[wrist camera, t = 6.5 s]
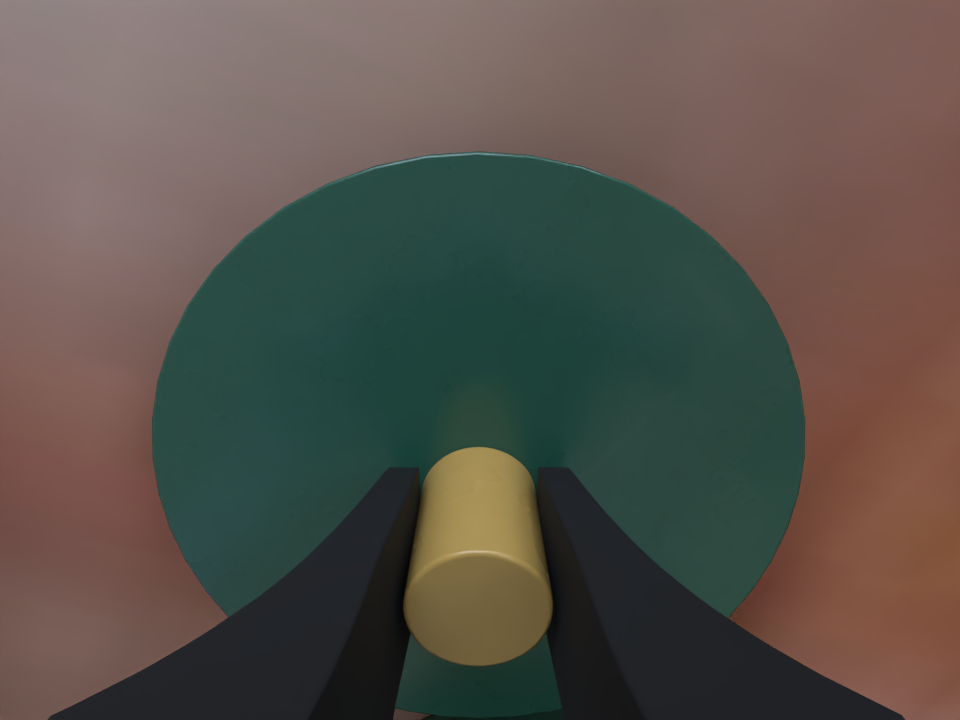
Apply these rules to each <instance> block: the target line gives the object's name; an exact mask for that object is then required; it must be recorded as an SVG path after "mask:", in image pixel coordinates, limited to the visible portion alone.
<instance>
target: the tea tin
mask: <svg viewBox="0 0 960 720" xmlns="http://www.w3.org/2000/svg"><path fill="white" fill-rule="evenodd" d="M424 720H564V718H563V712H562V708H561V709H556V710H552V711H548V712H541V713H533V714H526V715H519V716H509V717H487V718H471V717H449V716H439V715H433V716H431V717H428V718H426V719H424Z"/></svg>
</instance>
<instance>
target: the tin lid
mask: <svg viewBox="0 0 960 720" xmlns="http://www.w3.org/2000/svg"><path fill="white" fill-rule="evenodd" d="M152 442H153V462H154V468H155V474H156V480H157V486H158V492H159V496H160V499H161V502H162V505H163V508H164V511H165V514H166V517H167V521H168V524H169V527H170V529H171V531H172V533H173V536H174V538H175V540H176V542H177V544H178V546H179V548H180V550H181V552H182V554H183V556H184V558H185V560H186V562H187V563H188V565H189V566H190V568H191V569H192V571H193V572H194V574H195V575H196V577H197V578H198V580H199V581H200V583H201V584H202V586H203V587H204V589H205V590H206V592H207V593H208V594H209V595H210V596H211V597H212V598H213V600H214V601H215V602H216V603H217V604H218V605H219V607H220V608H221V609H222V610H223V611H224V612H225V614H226V615H227V616H228V617H230V616H231V615H233V614H234V613H236V612H237V611H239V610H240V609H241V608H243V607H244V606H246V605H247V604H249V603H250V602H252V601H253V600H254V599H256V598H257V597H259V596H260V595H261V594H263V593H264V592H265V591H267V590H268V589H269V588H270V587H272V586H273V585H274V584H275V583H277V582H278V581H279V580H280V579H282V578H283V577H284V576H285V575H287V574H288V573H289V572H290V571H291V570H292V569H293V568H295V567H296V566H297V565H298V564H299V563H300V562H301V561H302V560H304V559H305V558H306V557H307V556H308V555H309V554H310V553H311V552H312V551H313V550H314V549H315V548H316V547H317V546H318V545H319V544H320V543H321V542H322V541H323V540H324V539H325V538H326V537H327V536H328V535H329V534H330V533H331V532H332V531H333V530H334V529H335V528H336V527H337V526H338V525H339V524H340V523H341V522H342V521H343V519H344V518H345V517H346V516H347V515H348V514H349V513H350V512H351V511H352V510H353V508H354V507H355V506H356V505H357V504H358V503H359V502H360V500H361V499H362V498H363V497H364V496H365V495H366V493H367V492H368V491H369V490H370V489H371V487H372V486H373V485H374V484H375V483H376V481H377V480H378V479H379V478H380V476H381V475H382V474H383V473H384V472H385V471H386V470H387V469H388V468H389V467H419V476H420V498H421V499H420V505H419V511H418V517H417V523H416V529H415V535H414V540H413V546H412V552H411V558H410V564H409V570H408V576H407V582H406V588H405V594H404V599H403V612H404V618H405V621H406V624H407V626H408V629H409V630H410V632H411V634H410V639H409V643H408V648H407V653H406V657H405V662H404V667H403V671H402V676H401V681H400V685H399V690H398V695H397V699H396V704H395V708H397V709H401V710H406V711H410V712H417V713H424V714H432V715H439V716H449V717H471V718H487V717H509V716H519V715H526V714H533V713H541V712H548V711H552V710H556V709H561V708H562V706H561V701H560V697H559V692H558V687H557V682H556V678H555V673H554V668H553V663H552V658H551V654H550V649H549V644H548V639H547V634H546V631H547V629H548V628H549V625H550V622H551V619H552V616H553V597H552V590H551V584H550V578H549V572H548V565H547V559H546V553H545V547H544V541H543V535H542V529H541V523H540V517H539V510H538V504H537V480H538V467H568V468H569V469H570V470H571V471H572V472H573V473H574V474H575V475H576V477H577V478H578V479H579V480H580V482H581V483H582V484H583V485H584V487H585V488H586V489H587V490H588V492H589V493H590V494H591V495H592V496H593V498H594V499H595V500H596V501H597V502H598V504H599V505H600V506H601V507H602V508H603V509H604V510H605V512H606V513H607V514H608V515H609V516H610V517H611V518H612V519H613V520H614V521H615V523H616V524H617V525H618V526H619V527H620V528H621V529H622V530H623V531H624V532H625V533H626V534H627V535H628V536H629V537H630V538H631V539H632V540H633V542H634V543H635V544H636V545H637V546H639V547H640V548H641V549H642V550H643V551H644V552H645V553H646V554H647V555H648V556H649V557H650V558H651V559H652V560H653V561H654V562H656V563H657V564H658V565H659V566H660V567H661V568H662V569H664V570H665V571H666V572H667V573H668V574H670V575H671V576H672V577H673V578H675V579H676V580H677V581H678V582H680V583H681V584H682V585H683V586H685V587H686V588H687V589H688V590H689V591H691V592H692V593H693V594H695V595H696V596H697V597H699V598H700V599H701V600H703V601H704V602H705V603H707V604H708V605H709V606H711V607H712V608H714V609H715V610H717V611H718V612H720V613H721V614H722V615H724V616H725V617H727V618H729V617H730V616H731V614H732V613H733V612H734V611H735V610H736V609H737V607H738V606H739V605H740V604H741V603H742V602H743V600H744V599H745V598H746V597H747V596H748V595H749V593H750V592H751V591H752V590H753V588H754V587H755V585H756V584H757V582H758V581H759V579H760V578H761V576H762V575H763V573H764V572H765V570H766V569H767V567H768V566H769V564H770V563H771V561H772V559H773V557H774V555H775V553H776V551H777V549H778V547H779V545H780V543H781V541H782V539H783V536H784V534H785V532H786V530H787V528H788V525H789V522H790V519H791V516H792V513H793V510H794V506H795V503H796V500H797V497H798V494H799V488H800V482H801V476H802V470H803V464H804V458H805V416H804V409H803V402H802V395H801V388H800V381H799V378H798V375H797V371H796V368H795V365H794V362H793V359H792V355H791V352H790V349H789V346H788V343H787V340H786V338H785V336H784V334H783V332H782V330H781V328H780V326H779V324H778V322H777V320H776V318H775V316H774V314H773V312H772V310H771V308H770V306H769V304H768V303H767V301H766V300H765V299H764V297H763V296H762V294H761V293H760V292H759V290H758V289H757V287H756V286H755V285H754V283H753V282H752V280H751V279H750V277H749V276H748V275H747V273H746V272H745V270H744V269H743V268H742V267H741V266H740V265H739V264H738V263H737V262H736V261H735V260H734V259H733V258H732V257H731V256H730V255H729V254H728V253H727V252H726V251H725V250H724V249H723V247H722V246H721V245H720V244H719V243H718V242H717V241H716V240H715V239H714V238H713V237H712V236H711V235H709V234H708V233H707V232H705V231H704V230H703V229H701V228H700V227H699V226H697V225H696V224H695V223H693V222H692V221H691V220H689V219H688V218H687V217H685V216H684V215H683V214H681V213H680V212H679V211H677V210H676V209H675V208H673V207H672V206H670V205H668V204H666V203H664V202H662V201H661V200H659V199H657V198H655V197H653V196H651V195H649V194H648V193H646V192H644V191H642V190H640V189H638V188H637V187H635V186H633V185H631V184H629V183H626V182H623V181H621V180H618V179H615V178H613V177H610V176H607V175H604V174H602V173H599V172H596V171H594V170H591V169H588V168H585V167H583V166H579V165H574V164H569V163H565V162H560V161H555V160H550V159H546V158H541V157H536V156H532V155H522V154H508V153H494V152H480V151H477V152H463V153H449V154H434V155H425V156H420V157H416V158H411V159H406V160H402V161H397V162H392V163H387V164H383V165H378V166H374V167H371V168H369V169H366V170H363V171H360V172H358V173H355V174H352V175H350V176H347V177H344V178H341V179H339V180H336V181H333V182H331V183H328V184H326V185H324V186H322V187H320V188H318V189H317V190H315V191H313V192H311V193H309V194H307V195H305V196H304V197H302V198H300V199H298V200H296V201H294V202H293V203H291V204H289V205H287V206H285V207H283V208H282V209H281V210H279V211H278V212H277V213H275V214H274V215H273V216H271V217H270V218H269V219H268V220H266V221H265V222H264V223H262V224H261V225H260V226H258V227H257V228H256V229H254V230H253V231H252V232H250V233H249V234H248V235H246V236H245V237H244V238H243V239H242V240H241V241H240V242H239V243H238V244H237V245H236V246H235V247H234V248H233V249H232V250H231V251H230V252H229V254H228V255H227V256H226V257H225V258H224V259H223V260H222V261H221V262H220V263H219V264H218V265H217V266H216V267H215V268H214V269H213V270H212V272H211V273H210V275H209V276H208V277H207V279H206V280H205V282H204V283H203V284H202V286H201V287H200V289H199V290H198V291H197V293H196V294H195V296H194V297H193V299H192V300H191V301H190V303H189V304H188V306H187V308H186V310H185V312H184V314H183V316H182V318H181V320H180V322H179V324H178V326H177V328H176V330H175V332H174V334H173V336H172V338H171V340H170V343H169V346H168V349H167V352H166V356H165V359H164V362H163V365H162V369H161V372H160V375H159V378H158V382H157V389H156V396H155V404H154V411H153V418H152Z"/></svg>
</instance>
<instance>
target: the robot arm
mask: <svg viewBox="0 0 960 720" xmlns="http://www.w3.org/2000/svg"><path fill="white" fill-rule="evenodd" d="M420 499H421V498H420V476H419V467H389V468H388V469H387V470H386V471H385V472H384V473H383V474H382V475H381V476H380V478H379V479H378V480H377V481H376V483H375V484H374V485H373V486H372V487H371V489H370V490H369V491H368V492H367V493H366V495H365V496H364V497H363V498H362V499H361V500H360V502H359V503H358V504H357V505H356V506H355V507H354V508H353V510H352V511H351V512H350V513H349V514H348V515H347V516H346V517H345V518H344V519H343V521H342V522H341V523H340V524H339V525H338V526H337V527H336V528H335V529H334V530H333V531H332V532H331V533H330V534H329V535H328V536H327V537H326V538H325V539H324V540H323V541H322V542H321V543H320V544H319V545H318V546H317V547H316V548H315V549H314V550H313V551H312V552H311V553H310V554H309V555H308V556H307V557H306V558H305V559H304V560H302V561H301V562H300V563H299V564H298V565H297V566H296V567H295V568H293V569H292V570H291V571H290V572H289V573H288V574H287V575H285V576H284V577H283V578H282V579H280V580H279V581H278V582H277V583H275V584H274V585H273V586H272V587H270V588H269V589H268V590H267V591H265V592H264V593H263V594H261V595H260V596H259V597H257V598H256V599H254V600H253V601H252V602H250V603H249V604H247V605H246V606H244V607H243V608H241V609H240V610H239V611H237V612H236V613H234V614H233V615H231V616H230V617H229V618H227V619H226V620H224V621H223V622H221V623H220V624H218V625H217V626H216V627H214V628H213V629H211V630H209V631H208V632H206V633H205V634H203V635H201V636H200V637H198V638H197V639H195V640H193V641H192V642H190V643H188V644H187V645H185V646H184V647H182V648H180V649H179V650H177V651H175V652H173V653H172V654H170V655H168V656H166V657H165V658H163V659H161V660H159V661H158V662H156V663H154V664H152V665H151V666H149V667H147V668H145V669H143V670H142V671H140V672H138V673H136V674H134V675H132V676H130V677H128V678H126V679H124V680H122V681H120V682H119V683H117V684H115V685H113V686H111V687H109V688H107V689H105V690H103V691H101V692H99V693H97V694H95V695H93V696H91V697H89V698H87V699H85V700H83V701H81V702H79V703H77V704H75V705H73V706H71V707H69V708H67V709H64V710H62V711H60V712H58V713H56V714H54V715H52V716H50V718H49V719H48V720H393V715H394V709H395V704H396V699H397V695H398V690H399V685H400V681H401V676H402V671H403V667H404V662H405V657H406V653H407V648H408V643H409V639H410V634H411V632H410V630H409V629H408V626H407V624H406V621H405V618H404V612H403V599H404V594H405V588H406V582H407V576H408V570H409V564H410V558H411V552H412V546H413V540H414V535H415V529H416V523H417V517H418V511H419V505H420ZM537 504H538V510H539V517H540V523H541V529H542V535H543V541H544V547H545V553H546V559H547V565H548V572H549V578H550V584H551V590H552V597H553V616H552V619H551V622H550V625H549V628H548V629H547V631H546V634H547V639H548V644H549V649H550V654H551V658H552V663H553V668H554V673H555V678H556V682H557V687H558V692H559V697H560V701H561V706H562V712H563V718H564V720H905V719H904V718H903V716H902V715H900V714H898V713H896V712H894V711H892V710H890V709H888V708H886V707H884V706H882V705H880V704H878V703H876V702H874V701H872V700H870V699H868V698H866V697H864V696H862V695H860V694H858V693H856V692H854V691H852V690H850V689H848V688H846V687H844V686H842V685H840V684H838V683H836V682H834V681H832V680H830V679H828V678H826V677H824V676H822V675H821V674H819V673H817V672H815V671H813V670H811V669H810V668H808V667H806V666H804V665H803V664H801V663H799V662H798V661H796V660H794V659H792V658H791V657H789V656H787V655H785V654H784V653H782V652H780V651H778V650H777V649H775V648H773V647H772V646H770V645H768V644H767V643H765V642H764V641H762V640H760V639H759V638H757V637H756V636H754V635H752V634H751V633H749V632H748V631H746V630H744V629H743V628H742V627H740V626H739V625H737V624H736V623H734V622H733V621H731V620H730V619H728V618H727V617H725V616H724V615H722V614H721V613H720V612H718V611H717V610H715V609H714V608H712V607H711V606H709V605H708V604H707V603H705V602H704V601H703V600H701V599H700V598H699V597H697V596H696V595H695V594H693V593H692V592H691V591H689V590H688V589H687V588H686V587H685V586H683V585H682V584H681V583H680V582H678V581H677V580H676V579H675V578H673V577H672V576H671V575H670V574H668V573H667V572H666V571H665V570H664V569H662V568H661V567H660V566H659V565H658V564H657V563H656V562H654V561H653V560H652V559H651V558H650V557H649V556H648V555H647V554H646V553H645V552H644V551H643V550H642V549H641V548H640V547H639V546H637V545H636V544H635V543H634V542H633V540H632V539H631V538H630V537H629V536H628V535H627V534H626V533H625V532H624V531H623V530H622V529H621V528H620V527H619V526H618V525H617V524H616V523H615V521H614V520H613V519H612V518H611V517H610V516H609V515H608V514H607V513H606V512H605V510H604V509H603V508H602V507H601V506H600V505H599V504H598V502H597V501H596V500H595V499H594V498H593V496H592V495H591V494H590V493H589V492H588V490H587V489H586V488H585V487H584V485H583V484H582V483H581V482H580V480H579V479H578V478H577V477H576V475H575V474H574V473H573V472H572V471H571V470H570V469H569V468H568V467H538V480H537Z"/></svg>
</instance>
